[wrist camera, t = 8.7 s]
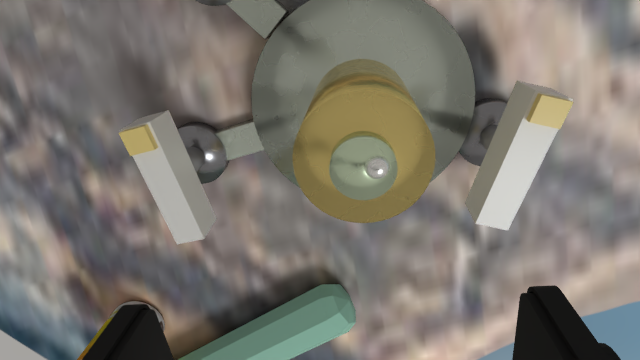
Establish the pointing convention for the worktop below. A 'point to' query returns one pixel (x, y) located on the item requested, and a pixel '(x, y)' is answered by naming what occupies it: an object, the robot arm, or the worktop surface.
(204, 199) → the knob
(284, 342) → the mint green rod
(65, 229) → the worktop surface
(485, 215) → the white handle
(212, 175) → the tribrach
